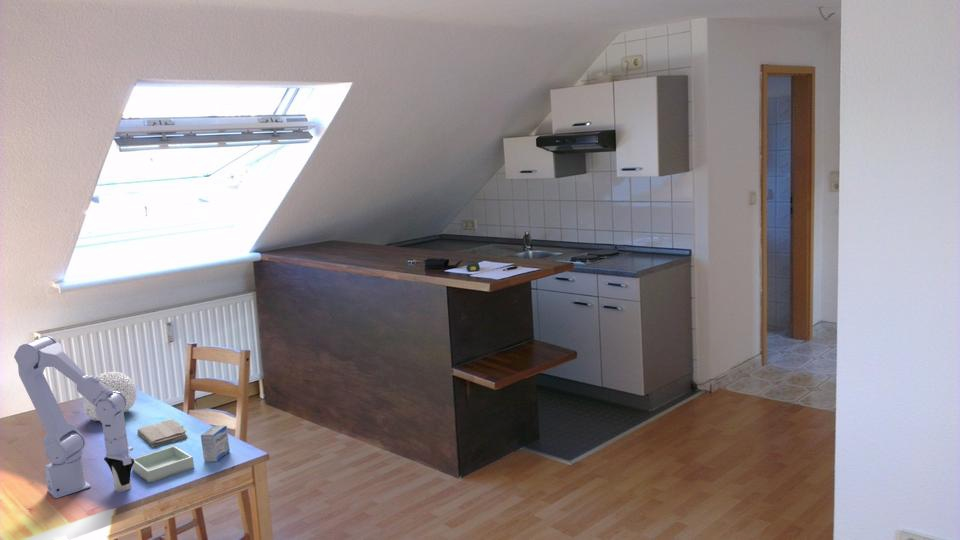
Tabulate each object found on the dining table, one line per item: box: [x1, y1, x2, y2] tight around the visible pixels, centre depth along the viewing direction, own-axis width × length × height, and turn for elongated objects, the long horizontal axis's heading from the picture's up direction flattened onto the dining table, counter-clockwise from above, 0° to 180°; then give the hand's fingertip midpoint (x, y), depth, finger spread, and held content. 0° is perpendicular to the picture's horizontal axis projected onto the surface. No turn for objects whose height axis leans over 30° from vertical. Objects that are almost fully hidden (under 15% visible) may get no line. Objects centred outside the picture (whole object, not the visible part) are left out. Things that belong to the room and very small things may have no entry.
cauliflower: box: [82, 371, 137, 422], centre depth 285 cm, size 20×18×16 cm
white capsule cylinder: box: [111, 466, 132, 493], centre depth 224 cm, size 4×4×7 cm
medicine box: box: [200, 424, 231, 463], centre depth 242 cm, size 8×4×9 cm, turn 168°
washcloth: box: [137, 418, 188, 448], centre depth 263 cm, size 12×18×3 cm, turn 39°
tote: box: [131, 445, 195, 484], centre depth 236 cm, size 13×13×4 cm
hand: (122, 481), depth 224 cm, fingers closed on white capsule cylinder, 4 cm apart
